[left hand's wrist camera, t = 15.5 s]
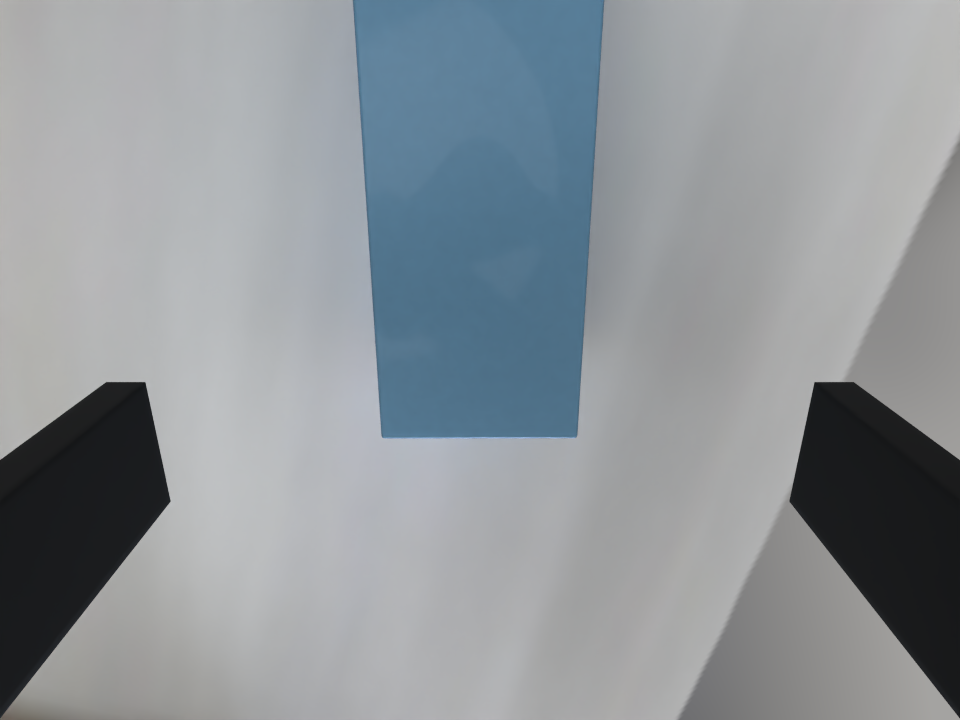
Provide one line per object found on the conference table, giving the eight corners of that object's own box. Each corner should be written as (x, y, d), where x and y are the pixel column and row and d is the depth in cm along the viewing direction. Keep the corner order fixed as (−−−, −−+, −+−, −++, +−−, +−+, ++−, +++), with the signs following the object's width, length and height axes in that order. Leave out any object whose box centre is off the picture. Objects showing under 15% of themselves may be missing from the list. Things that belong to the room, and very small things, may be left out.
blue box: (390, -49, 24) (343, -132, 16) (567, -50, 24) (613, -132, 16) (408, 348, 30) (381, 439, 21) (550, 348, 30) (577, 439, 21)
